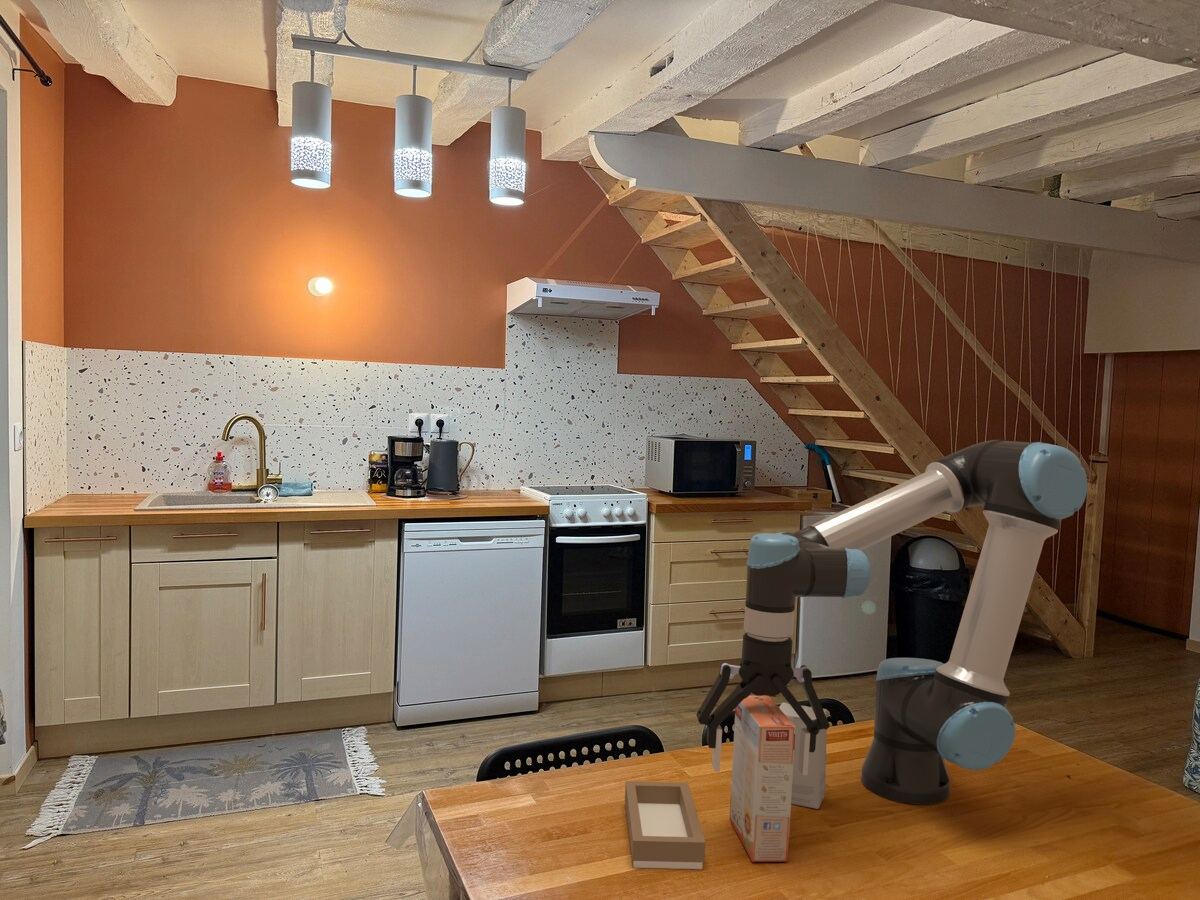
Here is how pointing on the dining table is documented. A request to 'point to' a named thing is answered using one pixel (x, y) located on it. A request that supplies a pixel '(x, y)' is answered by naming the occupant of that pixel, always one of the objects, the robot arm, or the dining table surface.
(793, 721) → the skincare box
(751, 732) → the cracker box
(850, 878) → the dining table surface
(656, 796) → the tray
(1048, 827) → the dining table surface
